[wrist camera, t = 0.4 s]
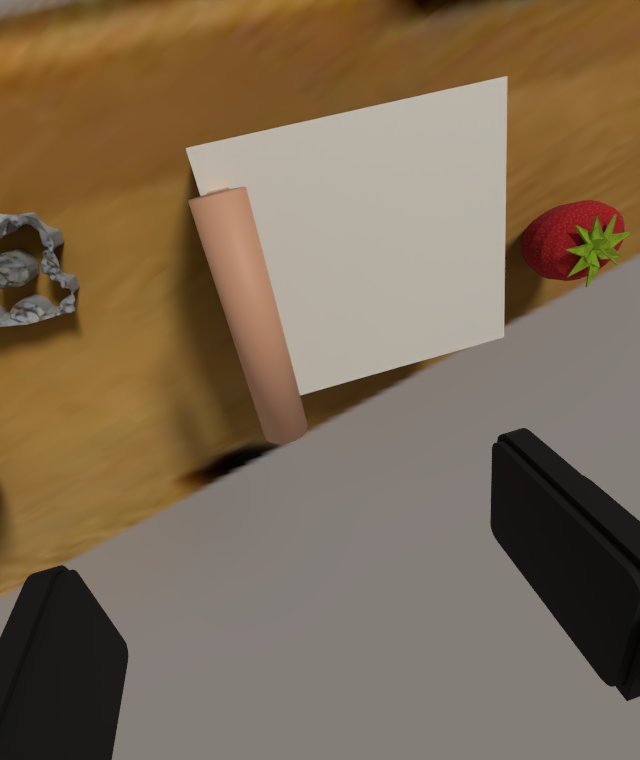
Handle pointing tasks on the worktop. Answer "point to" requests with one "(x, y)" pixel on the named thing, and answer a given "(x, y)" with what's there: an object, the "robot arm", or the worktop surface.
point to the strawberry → (573, 240)
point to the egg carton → (33, 273)
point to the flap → (356, 242)
